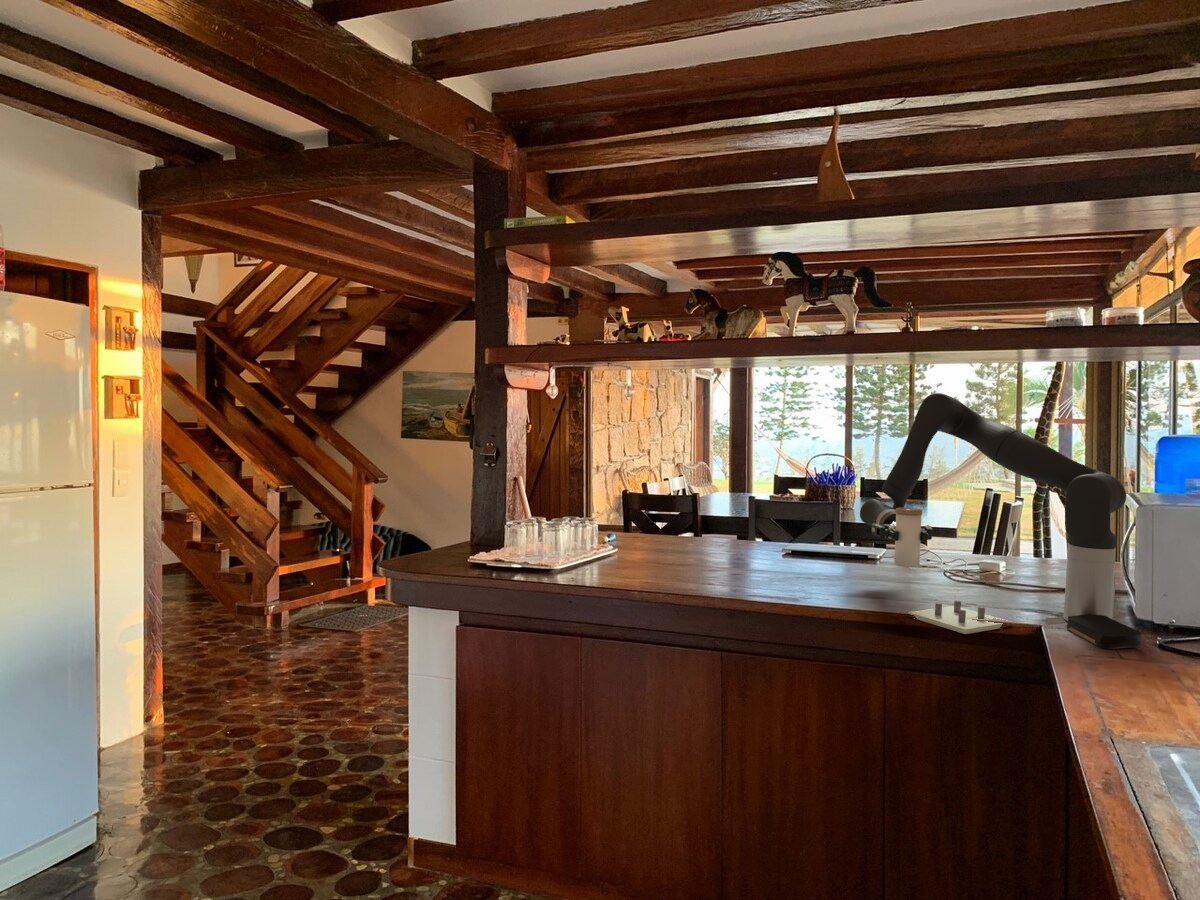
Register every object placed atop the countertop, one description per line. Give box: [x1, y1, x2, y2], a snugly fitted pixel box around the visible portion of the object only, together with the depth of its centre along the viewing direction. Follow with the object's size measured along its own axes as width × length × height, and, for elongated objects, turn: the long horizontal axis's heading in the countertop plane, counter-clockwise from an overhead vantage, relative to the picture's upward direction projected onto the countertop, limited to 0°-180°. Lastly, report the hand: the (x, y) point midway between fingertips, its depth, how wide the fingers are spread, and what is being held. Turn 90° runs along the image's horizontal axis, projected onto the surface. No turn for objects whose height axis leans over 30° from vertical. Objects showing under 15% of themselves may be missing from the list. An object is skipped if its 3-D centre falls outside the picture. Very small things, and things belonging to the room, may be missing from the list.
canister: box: [893, 507, 923, 568], centre depth 191 cm, size 6×6×13 cm
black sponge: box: [1066, 614, 1143, 650], centre depth 171 cm, size 16×8×4 cm, turn 177°
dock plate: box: [907, 599, 1012, 635], centre depth 183 cm, size 15×15×4 cm
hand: (910, 536), depth 189 cm, fingers closed on canister, 5 cm apart
